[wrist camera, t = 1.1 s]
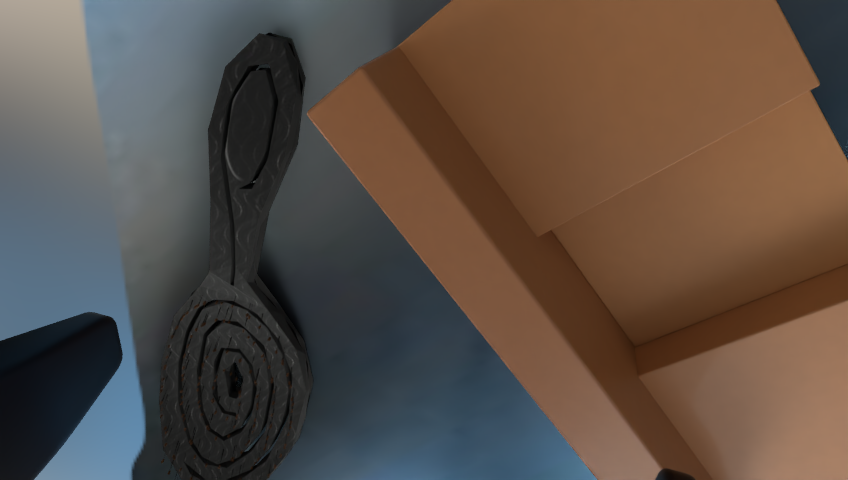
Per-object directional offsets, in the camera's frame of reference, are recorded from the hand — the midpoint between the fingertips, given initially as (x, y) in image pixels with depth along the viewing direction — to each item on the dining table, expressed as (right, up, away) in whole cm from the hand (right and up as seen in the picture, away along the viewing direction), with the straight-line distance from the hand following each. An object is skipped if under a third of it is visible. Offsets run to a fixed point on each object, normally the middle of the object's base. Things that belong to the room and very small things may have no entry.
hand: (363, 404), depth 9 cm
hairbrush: (-8, 0, +19) cm, 20 cm away
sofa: (+10, +4, +11) cm, 15 cm away
